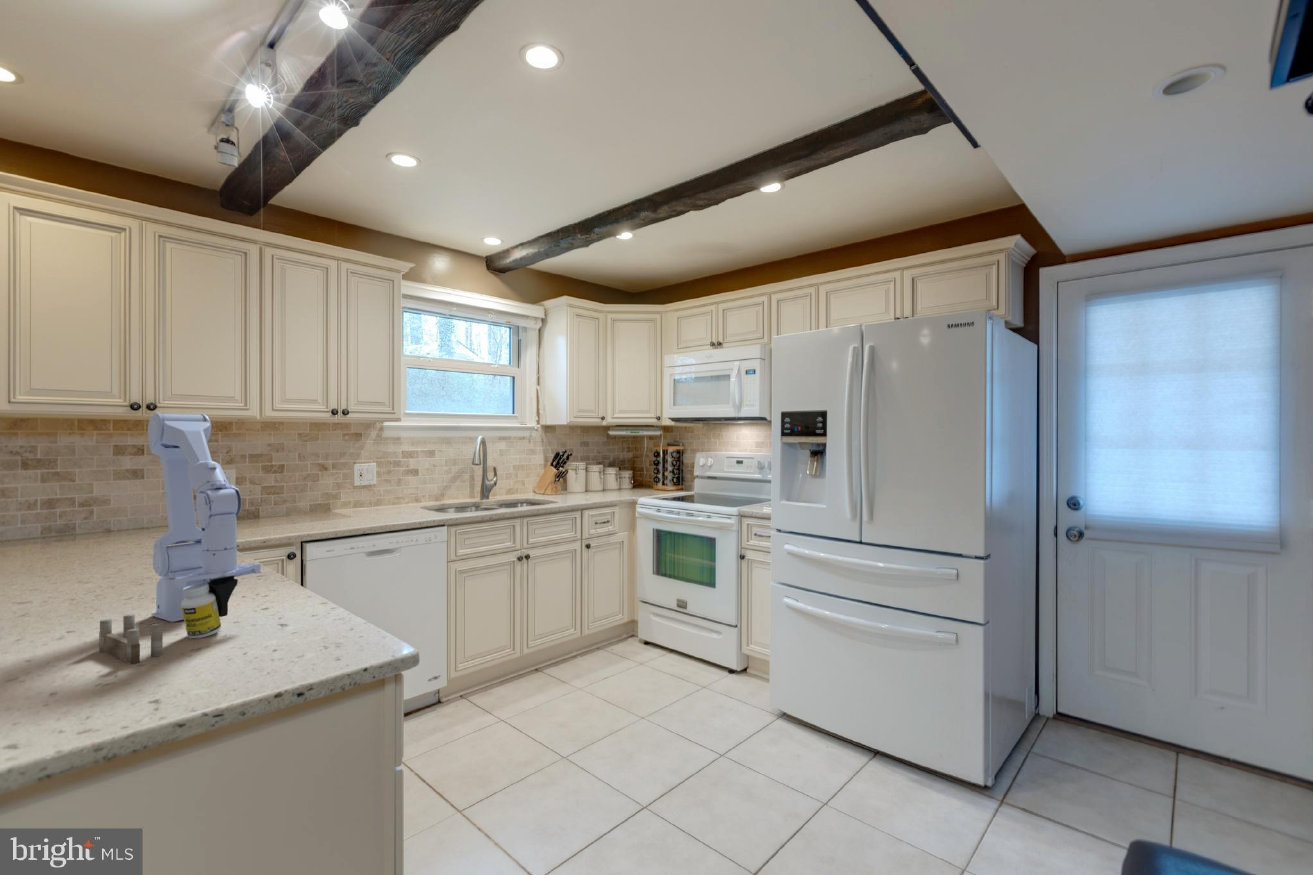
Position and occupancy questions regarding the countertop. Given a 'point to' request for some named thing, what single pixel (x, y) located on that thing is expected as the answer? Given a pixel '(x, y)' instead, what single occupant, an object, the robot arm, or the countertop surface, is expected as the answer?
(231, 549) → the robot arm
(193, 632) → the supplement bottle
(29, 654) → the countertop surface
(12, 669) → the countertop surface
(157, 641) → the pin seat
